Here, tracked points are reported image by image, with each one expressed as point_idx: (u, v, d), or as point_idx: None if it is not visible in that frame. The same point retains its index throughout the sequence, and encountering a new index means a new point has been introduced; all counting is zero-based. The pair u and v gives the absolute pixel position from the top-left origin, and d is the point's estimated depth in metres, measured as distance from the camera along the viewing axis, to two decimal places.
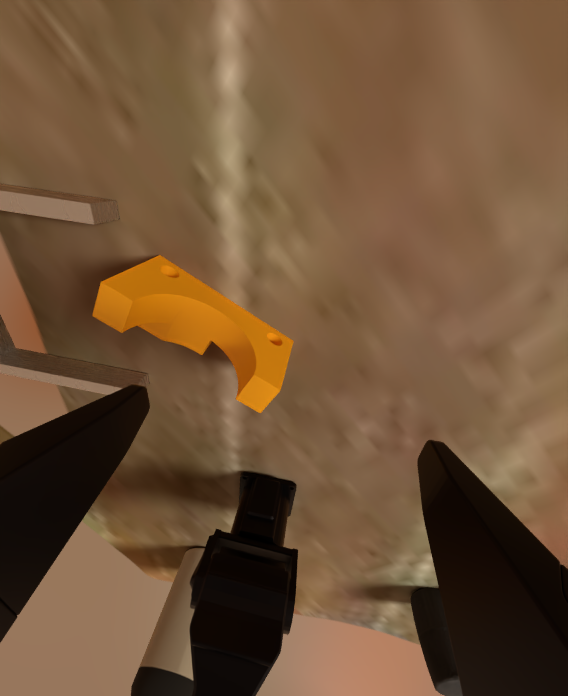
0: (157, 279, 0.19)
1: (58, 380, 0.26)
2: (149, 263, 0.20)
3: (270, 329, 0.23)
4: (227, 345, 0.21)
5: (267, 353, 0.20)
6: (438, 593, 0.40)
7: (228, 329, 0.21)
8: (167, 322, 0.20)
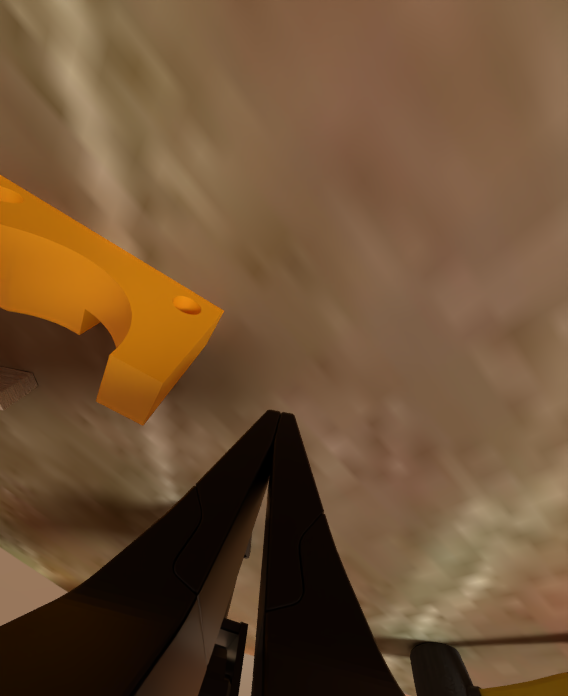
0: None
1: None
2: None
3: (185, 291, 0.14)
4: (107, 315, 0.13)
5: (160, 323, 0.12)
6: (445, 650, 0.31)
7: (104, 288, 0.13)
8: None
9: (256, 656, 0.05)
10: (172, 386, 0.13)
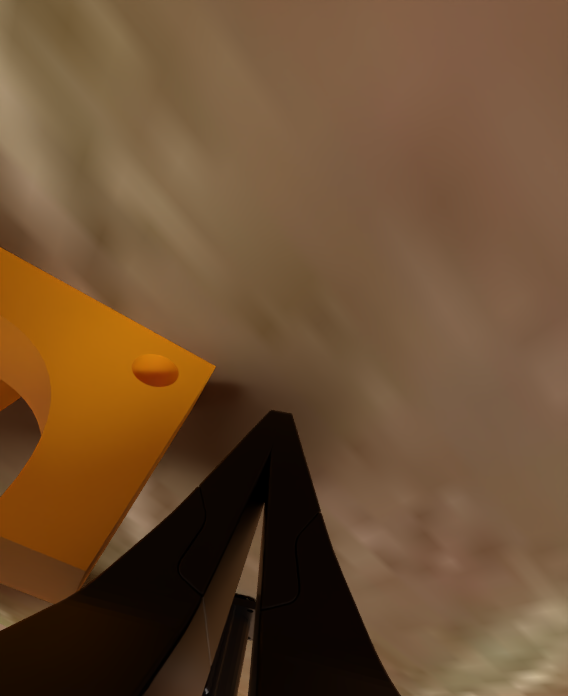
0: None
1: None
2: None
3: (154, 345, 0.10)
4: (30, 391, 0.08)
5: (103, 417, 0.07)
6: None
7: (20, 353, 0.08)
8: None
9: (252, 655, 0.05)
10: (130, 507, 0.08)
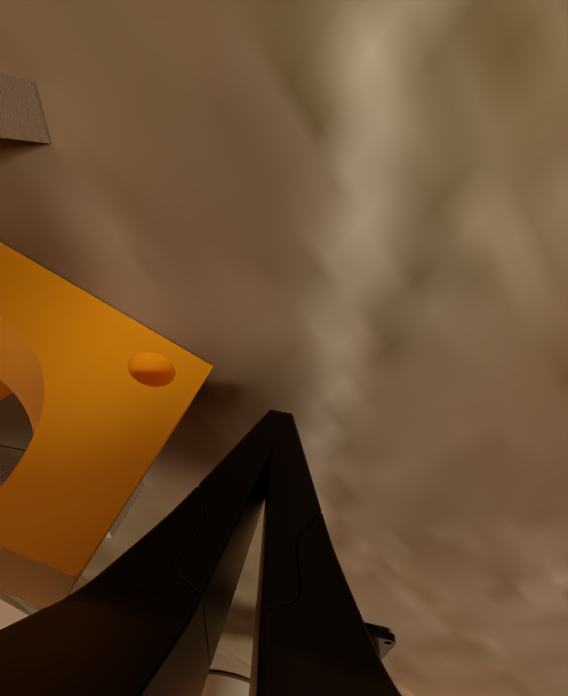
0: None
1: None
2: None
3: (151, 343, 0.10)
4: (22, 388, 0.08)
5: (97, 417, 0.07)
6: None
7: (14, 348, 0.08)
8: None
9: (253, 655, 0.05)
10: (123, 508, 0.08)
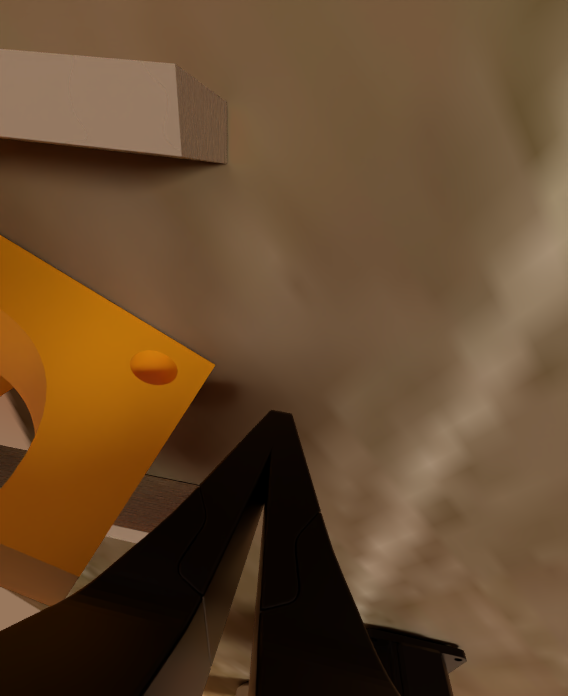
0: None
1: None
2: None
3: (154, 341, 0.10)
4: (24, 384, 0.08)
5: (99, 416, 0.07)
6: None
7: (15, 345, 0.08)
8: None
9: (252, 655, 0.05)
10: None
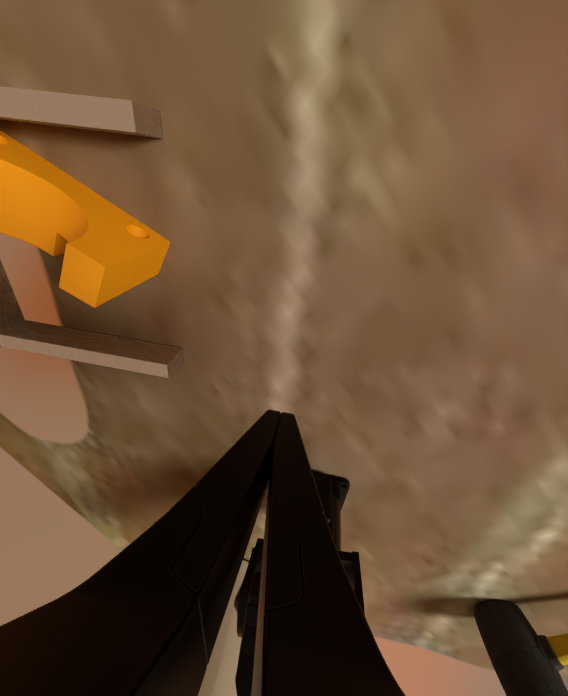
0: None
1: (76, 355, 0.22)
2: None
3: (137, 223, 0.18)
4: (73, 236, 0.17)
5: (111, 236, 0.16)
6: (509, 606, 0.34)
7: (71, 213, 0.17)
8: None
9: (256, 656, 0.05)
10: (122, 290, 0.17)
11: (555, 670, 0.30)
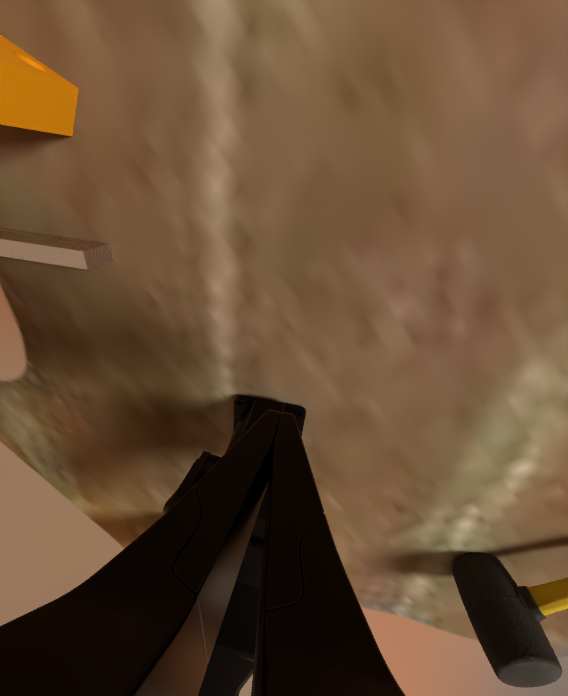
0: None
1: None
2: None
3: (36, 61, 0.16)
4: None
5: None
6: (489, 558, 0.32)
7: None
8: None
9: (256, 656, 0.05)
10: (6, 119, 0.14)
11: (536, 620, 0.27)
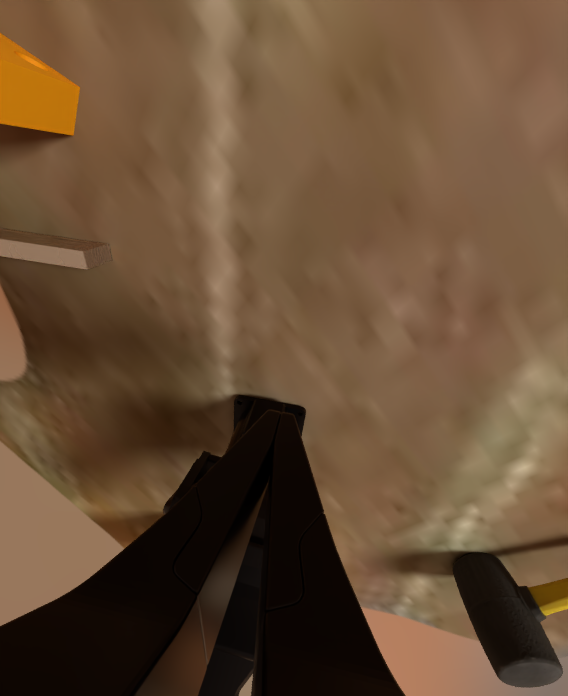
0: None
1: None
2: None
3: (37, 60, 0.16)
4: None
5: None
6: (489, 558, 0.32)
7: None
8: None
9: (256, 656, 0.05)
10: (8, 118, 0.14)
11: (536, 620, 0.27)
